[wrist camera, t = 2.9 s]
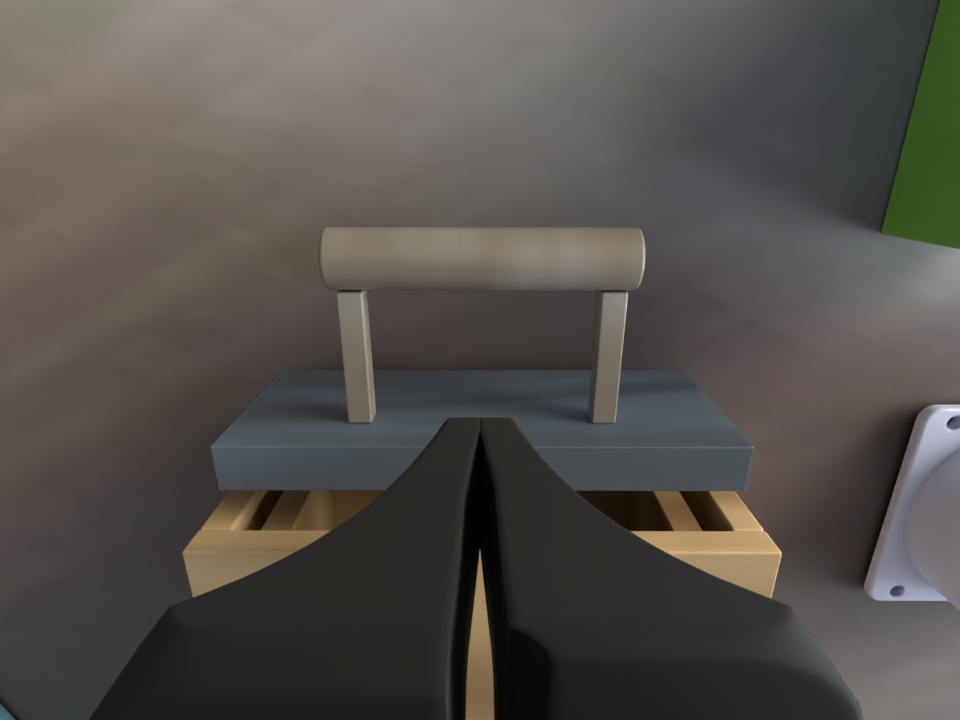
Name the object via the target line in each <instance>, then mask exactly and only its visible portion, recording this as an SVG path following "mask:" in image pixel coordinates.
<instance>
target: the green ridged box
mask: <svg viewBox="0 0 960 720" xmlns="http://www.w3.org/2000/svg"><path fill="white" fill-rule="evenodd" d="M881 234H884V235H889V236H894V237H899V238H905V239H910V240H915V241H920V242H925V243H931V244H936V245H941V246H946V247H952V248H957V249H960V0H940V3H939V7H938V10H937V14H936V18H935V22H934V26H933V30H932V34H931V38H930V42H929V46H928V50H927V54H926V58H925V61H924V65H923V69H922V73H921V77H920V81H919V85H918V89H917V93H916V97H915V101H914V105H913V109H912V113H911V116H910V120H909V124H908V128H907V132H906V136H905V140H904V144H903V148H902V152H901V156H900V160H899V164H898V167H897V171H896V175H895V179H894V183H893V187H892V191H891V195H890V199H889V203H888V207H887V211H886V215H885V218H884V222H883V226H882V230H881Z"/></svg>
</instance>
